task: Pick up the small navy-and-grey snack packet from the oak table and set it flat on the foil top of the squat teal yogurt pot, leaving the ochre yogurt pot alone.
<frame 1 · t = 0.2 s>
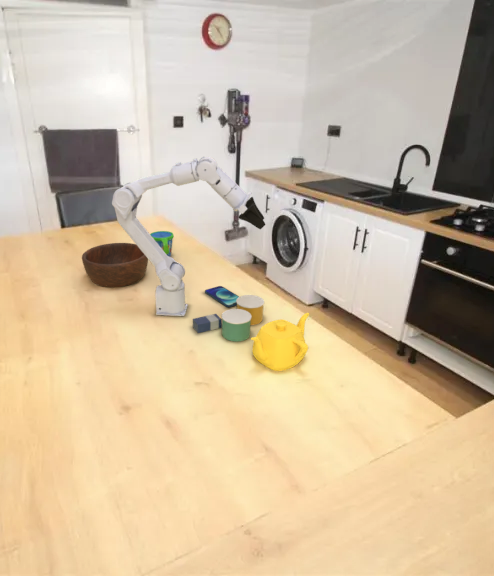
hand: (262, 223, 120), 31 cm above the table, tool tilted 45°, fingers open, 7 cm apart
packet: (207, 327, 127), on the table
yogurt pot: (235, 334, 123), on the table
wooden bowl: (117, 277, 162), on the table
snack cup: (162, 256, 183), on the table
teapot: (282, 360, 111), on the table
ochre yogurt pot: (249, 318, 132), on the table
smartphone: (224, 297, 145), on the table
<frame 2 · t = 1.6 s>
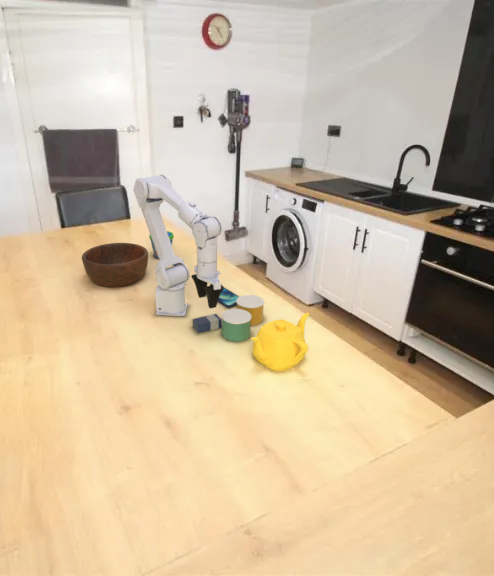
hand: (207, 302, 123), 9 cm above the table, tool pointing down, fingers open, 7 cm apart
nothing on the table moved.
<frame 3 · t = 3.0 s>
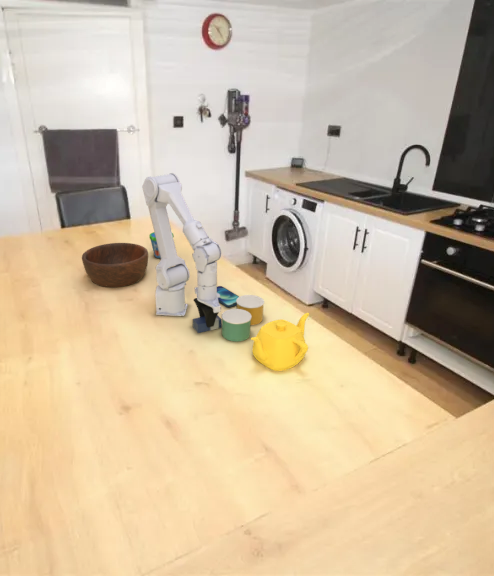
hand: (207, 323, 126), 2 cm above the table, tool pointing down, fingers closed on packet, 4 cm apart
packet: (207, 327, 127), on the table, touching gripper
everything else where it was.
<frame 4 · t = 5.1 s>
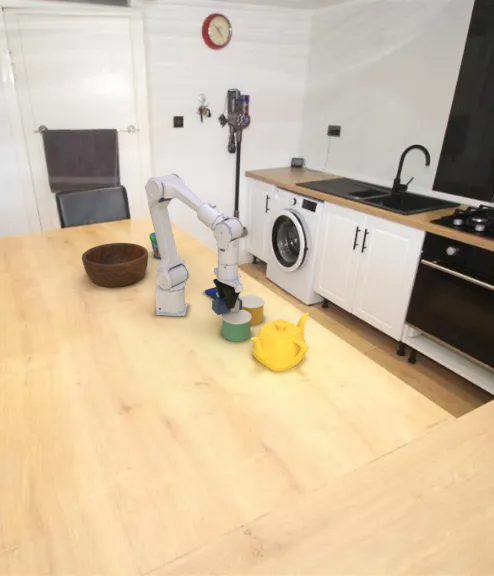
hand: (227, 304, 120), 9 cm above the table, tool pointing down, fingers closed on packet, 4 cm apart
packet: (227, 309, 121), point 8 cm above the table, touching gripper
everything else where it was.
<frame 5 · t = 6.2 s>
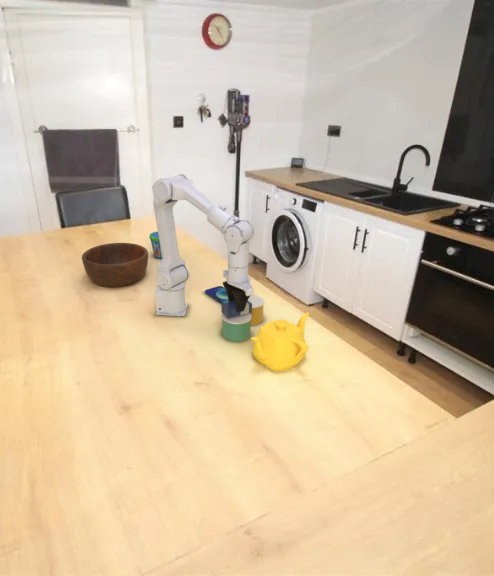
hand: (236, 307, 119), 9 cm above the table, tool pointing down, fingers closed on packet, 4 cm apart
packet: (236, 312, 120), point 7 cm above the table, touching gripper
everything else where it was.
when the fingers open (8 cm above the table, at t = 7.0 s): packet stays where it is, resting on yogurt pot.
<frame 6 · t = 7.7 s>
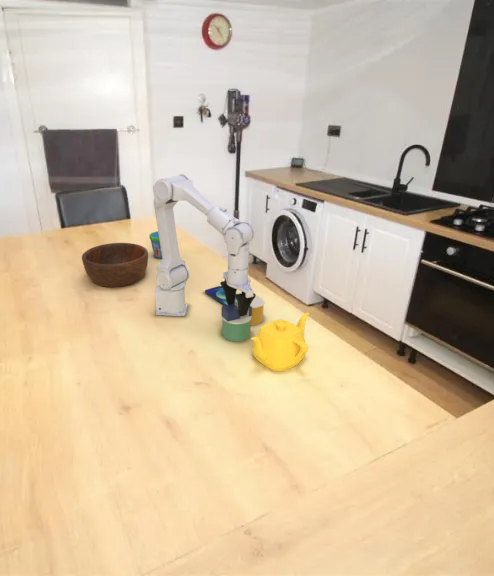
hand: (236, 309, 120), 8 cm above the table, tool pointing down, fingers open, 7 cm apart
packet: (236, 315, 120), point 6 cm above the table, touching yogurt pot
yogurt pot: (235, 334, 123), on the table, touching packet
everything else where it was.
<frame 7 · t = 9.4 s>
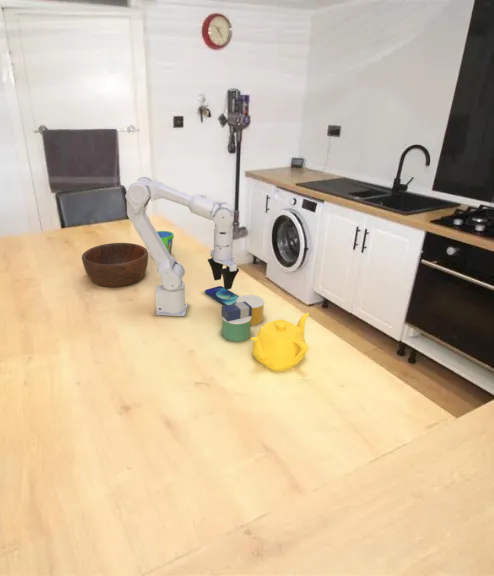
hand: (222, 284, 131), 10 cm above the table, tool pointing down, fingers open, 7 cm apart
nothing on the table moved.
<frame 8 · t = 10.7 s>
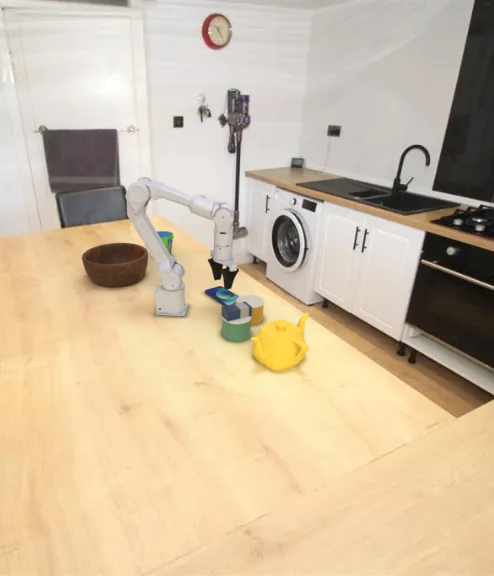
hand: (222, 284, 131), 10 cm above the table, tool pointing down, fingers open, 7 cm apart
nothing on the table moved.
at the end: packet 0.0 cm off-centre on the yogurt pot, point 6.3 cm above the yogurt pot's base; packet tilted 0°; yogurt pot tilted 0° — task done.
